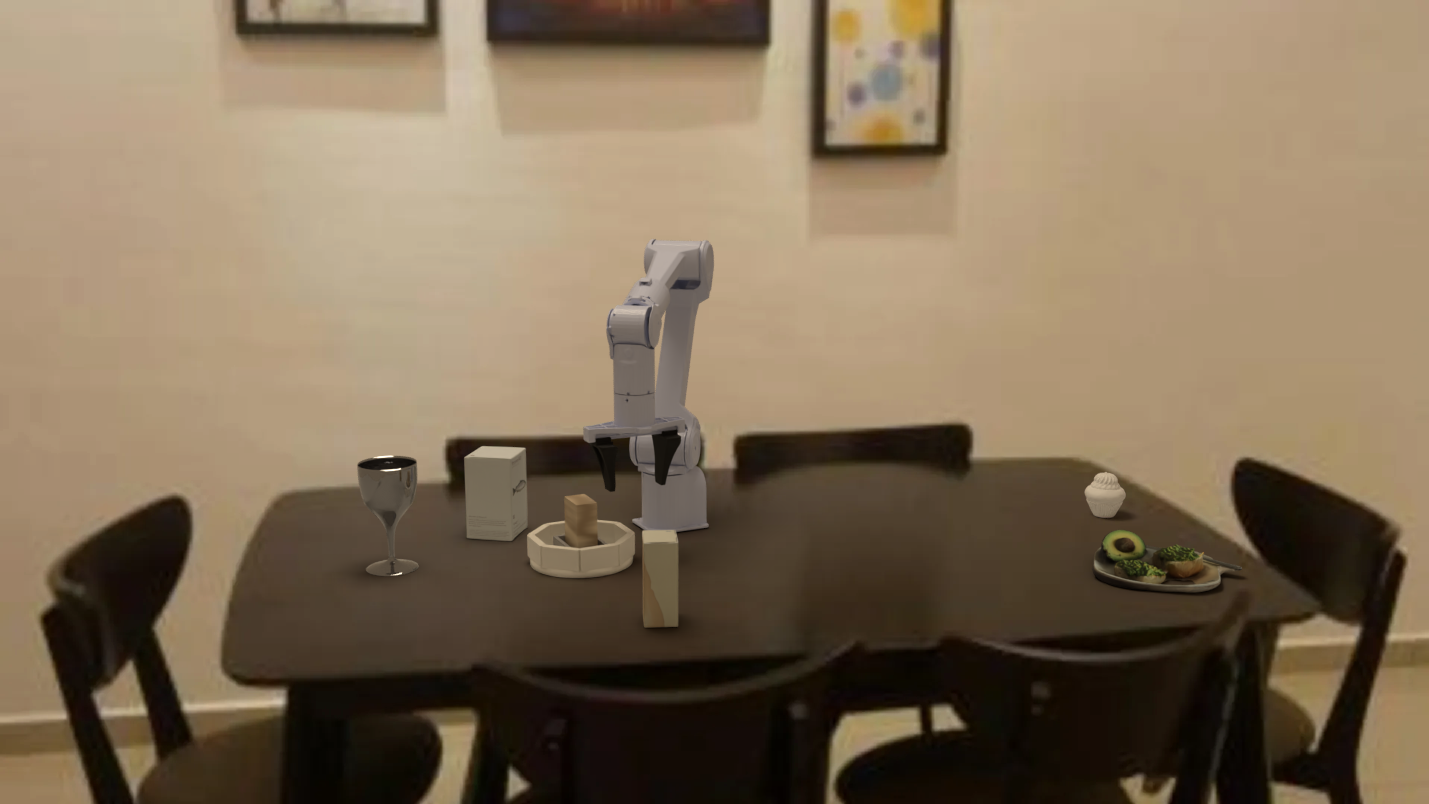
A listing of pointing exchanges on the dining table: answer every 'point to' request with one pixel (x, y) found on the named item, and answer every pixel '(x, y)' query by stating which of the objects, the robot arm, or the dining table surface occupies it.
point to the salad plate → (1155, 565)
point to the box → (660, 578)
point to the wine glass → (389, 502)
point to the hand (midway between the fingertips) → (635, 486)
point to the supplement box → (496, 493)
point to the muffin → (1105, 495)
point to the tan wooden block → (580, 521)
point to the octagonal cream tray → (581, 551)
